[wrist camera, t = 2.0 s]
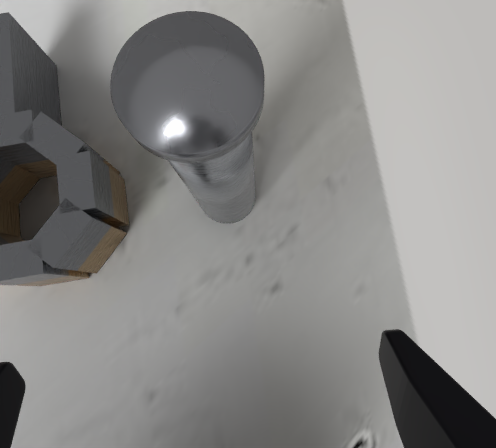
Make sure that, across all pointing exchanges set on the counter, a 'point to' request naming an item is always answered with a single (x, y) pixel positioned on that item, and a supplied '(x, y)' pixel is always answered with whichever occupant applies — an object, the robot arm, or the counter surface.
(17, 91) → the hinge
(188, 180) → the hinge pin
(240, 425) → the counter surface
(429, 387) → the robot arm
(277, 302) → the counter surface
